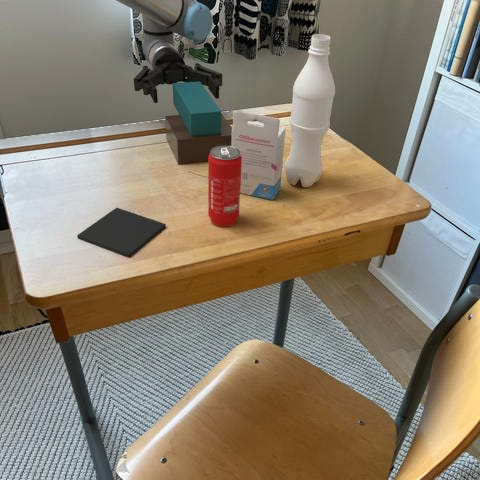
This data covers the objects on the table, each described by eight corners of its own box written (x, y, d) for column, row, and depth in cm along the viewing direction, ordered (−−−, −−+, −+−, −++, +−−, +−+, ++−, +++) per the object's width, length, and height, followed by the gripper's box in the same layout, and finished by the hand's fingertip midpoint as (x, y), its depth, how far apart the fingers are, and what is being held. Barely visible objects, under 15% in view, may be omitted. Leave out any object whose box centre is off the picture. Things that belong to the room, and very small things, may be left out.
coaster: (77, 238, 81) (77, 235, 81) (117, 210, 88) (116, 207, 87) (129, 257, 78) (128, 254, 77) (165, 227, 84) (165, 223, 84)
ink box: (280, 188, 96) (289, 108, 86) (273, 201, 92) (281, 119, 82) (238, 179, 98) (241, 100, 88) (229, 191, 94) (231, 110, 84)
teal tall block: (171, 101, 112) (170, 80, 109) (198, 99, 113) (198, 79, 110) (191, 136, 99) (190, 113, 96) (221, 133, 101) (221, 111, 98)
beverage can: (210, 229, 85) (211, 160, 76) (206, 212, 88) (206, 145, 80) (241, 226, 86) (245, 158, 77) (235, 210, 89) (238, 144, 81)
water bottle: (278, 185, 96) (293, 39, 79) (288, 169, 102) (304, 28, 85) (315, 193, 95) (339, 45, 78) (323, 176, 100) (347, 34, 83)
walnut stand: (166, 139, 109) (165, 116, 106) (220, 134, 112) (220, 111, 109) (178, 164, 101) (177, 140, 98) (236, 158, 104) (237, 134, 101)
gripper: (216, 77, 130) (241, 107, 116) (117, 82, 124) (130, 116, 110) (216, 44, 125) (243, 72, 111) (113, 48, 119) (126, 79, 104)
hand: (187, 94), depth 110 cm, fingers open, 13 cm apart
